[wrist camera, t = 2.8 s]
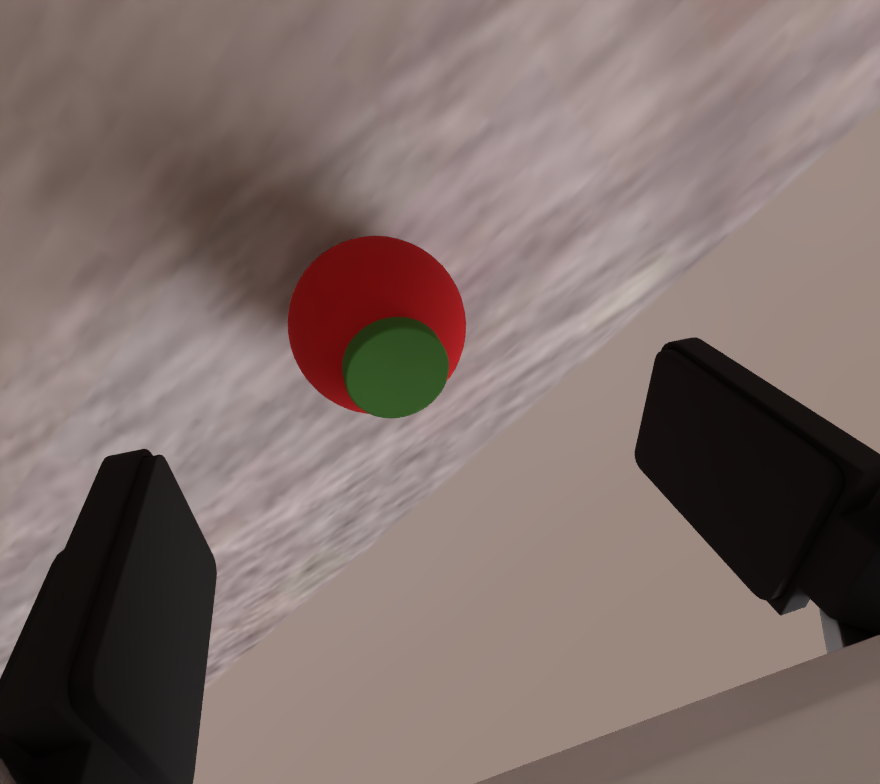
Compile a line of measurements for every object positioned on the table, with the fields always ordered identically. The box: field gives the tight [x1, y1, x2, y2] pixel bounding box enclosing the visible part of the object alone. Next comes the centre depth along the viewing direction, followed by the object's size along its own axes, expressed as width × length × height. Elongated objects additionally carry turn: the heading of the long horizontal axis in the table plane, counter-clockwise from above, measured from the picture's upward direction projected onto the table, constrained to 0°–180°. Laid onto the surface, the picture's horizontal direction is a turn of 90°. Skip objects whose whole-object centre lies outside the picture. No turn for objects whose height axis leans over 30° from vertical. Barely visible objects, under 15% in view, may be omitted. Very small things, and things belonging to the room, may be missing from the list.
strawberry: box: [288, 236, 466, 418], centre depth 13 cm, size 5×5×5 cm
